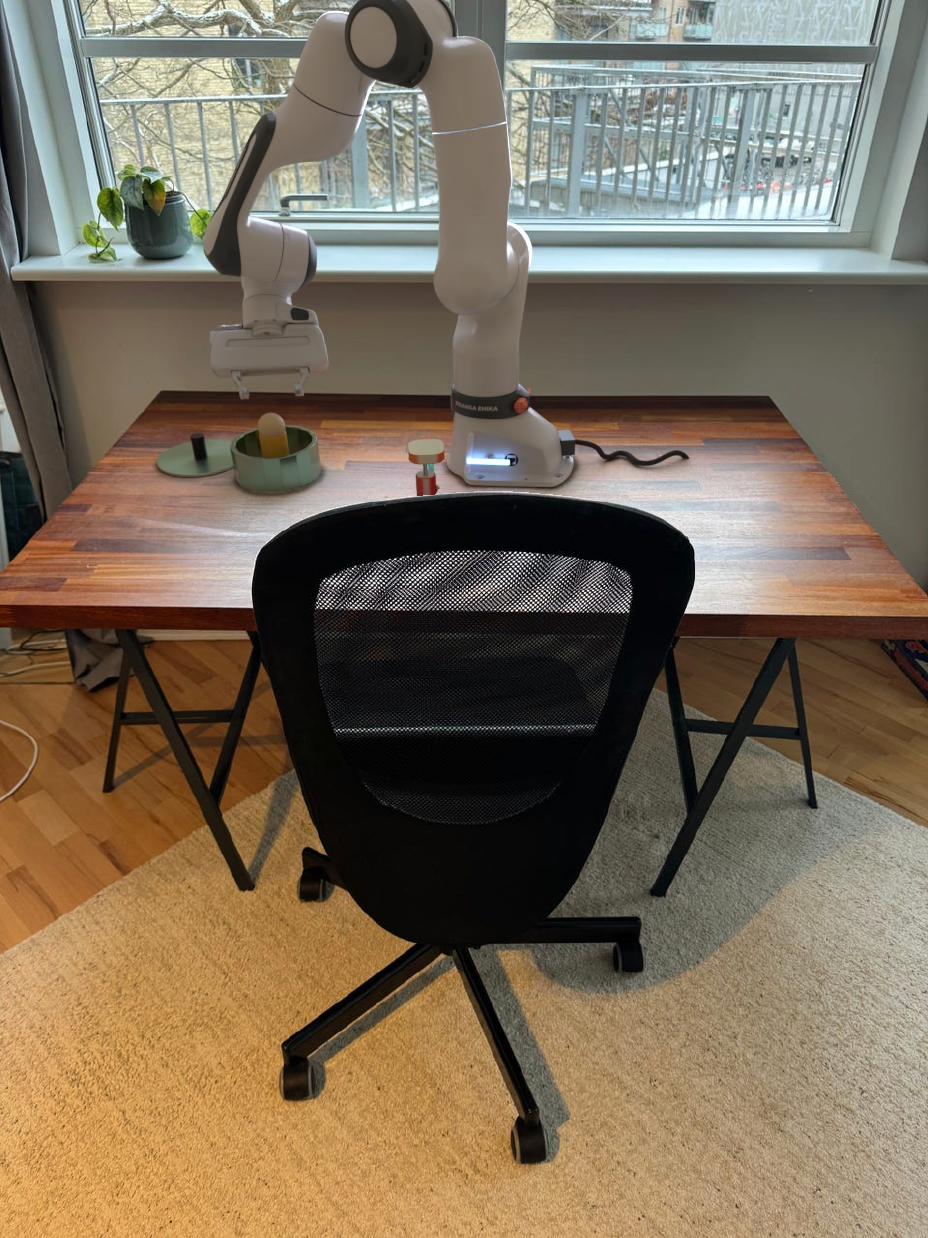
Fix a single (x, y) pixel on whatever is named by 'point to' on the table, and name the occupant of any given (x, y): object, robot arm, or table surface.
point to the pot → (276, 461)
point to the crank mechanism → (426, 454)
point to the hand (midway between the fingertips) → (271, 396)
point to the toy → (273, 436)
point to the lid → (197, 457)
